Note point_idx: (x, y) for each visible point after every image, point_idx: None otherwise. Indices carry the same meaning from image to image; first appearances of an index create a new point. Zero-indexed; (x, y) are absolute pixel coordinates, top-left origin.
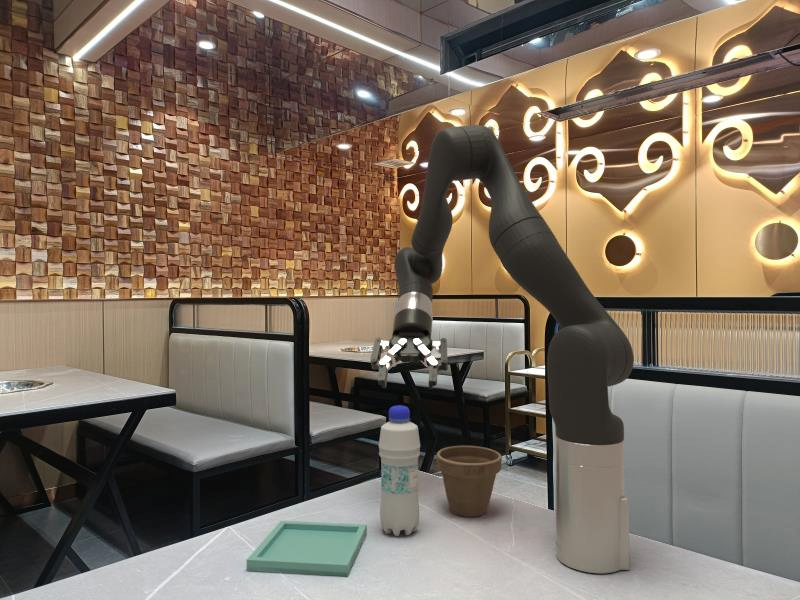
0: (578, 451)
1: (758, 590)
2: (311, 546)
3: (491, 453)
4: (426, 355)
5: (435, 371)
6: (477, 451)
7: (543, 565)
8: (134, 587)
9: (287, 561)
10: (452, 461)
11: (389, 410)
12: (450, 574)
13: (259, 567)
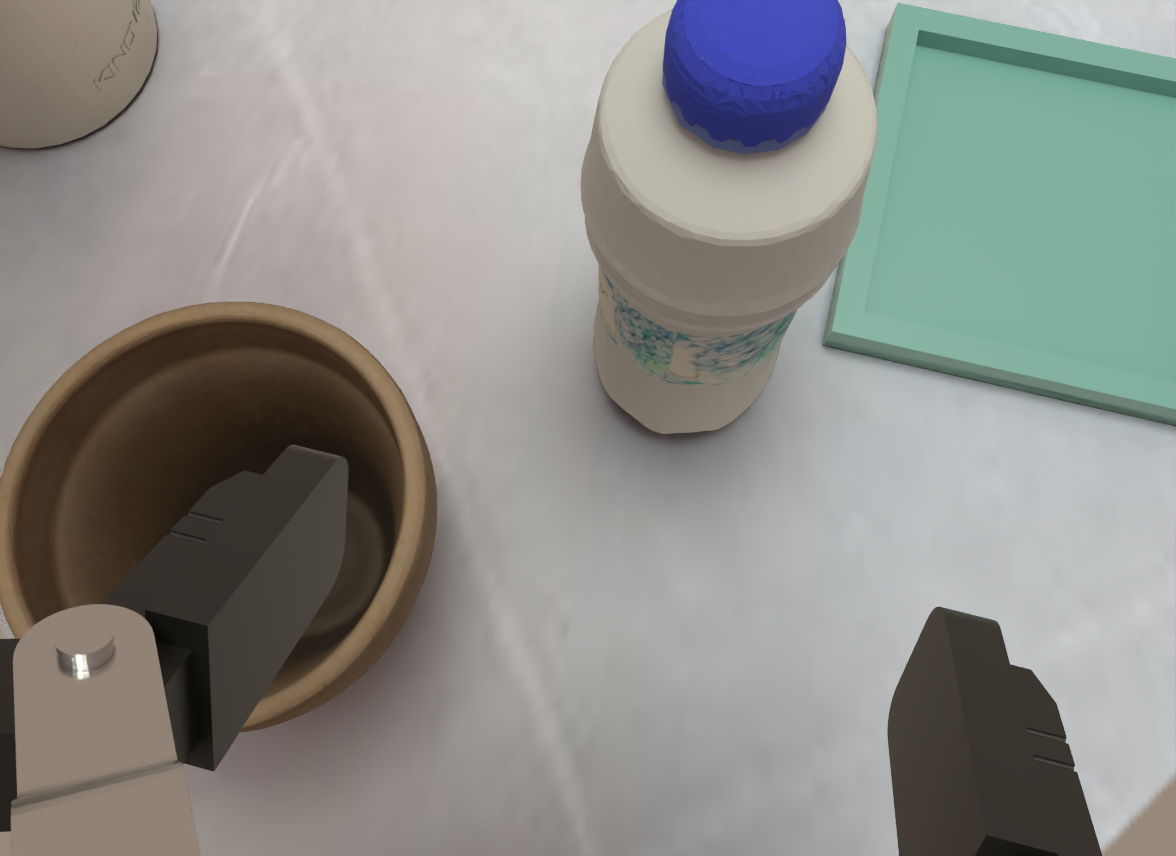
0: None
1: None
2: (1043, 216)
3: (28, 584)
4: (149, 767)
5: (157, 573)
6: None
7: (224, 31)
8: None
9: (1111, 50)
10: (361, 359)
11: (844, 23)
12: (549, 8)
13: None
